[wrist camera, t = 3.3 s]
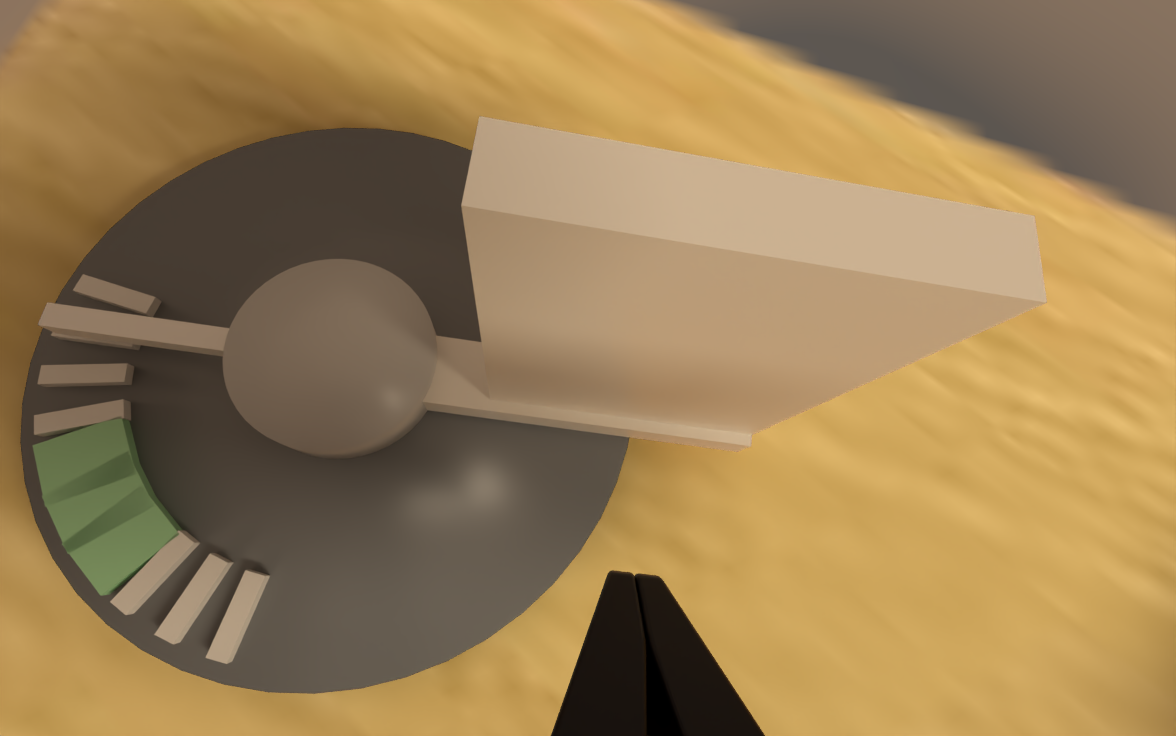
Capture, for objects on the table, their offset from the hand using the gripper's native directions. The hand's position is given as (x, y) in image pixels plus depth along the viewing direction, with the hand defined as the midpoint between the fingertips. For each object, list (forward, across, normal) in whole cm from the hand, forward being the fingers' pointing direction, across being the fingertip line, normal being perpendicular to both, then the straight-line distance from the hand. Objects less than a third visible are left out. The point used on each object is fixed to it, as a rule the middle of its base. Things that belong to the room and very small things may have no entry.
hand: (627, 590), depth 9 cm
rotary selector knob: (+7, +5, +1) cm, 9 cm away
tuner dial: (+8, +7, +2) cm, 11 cm away
